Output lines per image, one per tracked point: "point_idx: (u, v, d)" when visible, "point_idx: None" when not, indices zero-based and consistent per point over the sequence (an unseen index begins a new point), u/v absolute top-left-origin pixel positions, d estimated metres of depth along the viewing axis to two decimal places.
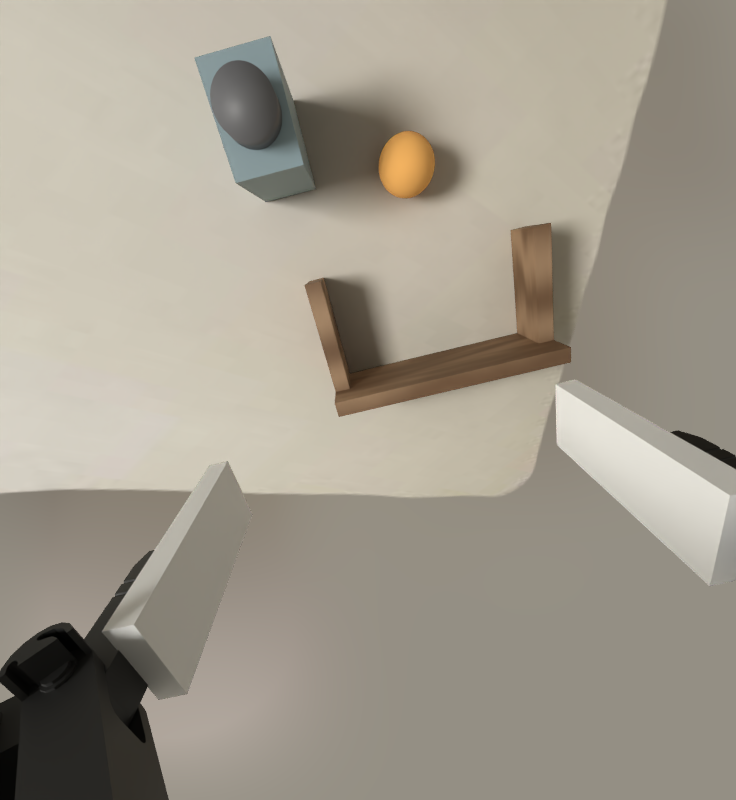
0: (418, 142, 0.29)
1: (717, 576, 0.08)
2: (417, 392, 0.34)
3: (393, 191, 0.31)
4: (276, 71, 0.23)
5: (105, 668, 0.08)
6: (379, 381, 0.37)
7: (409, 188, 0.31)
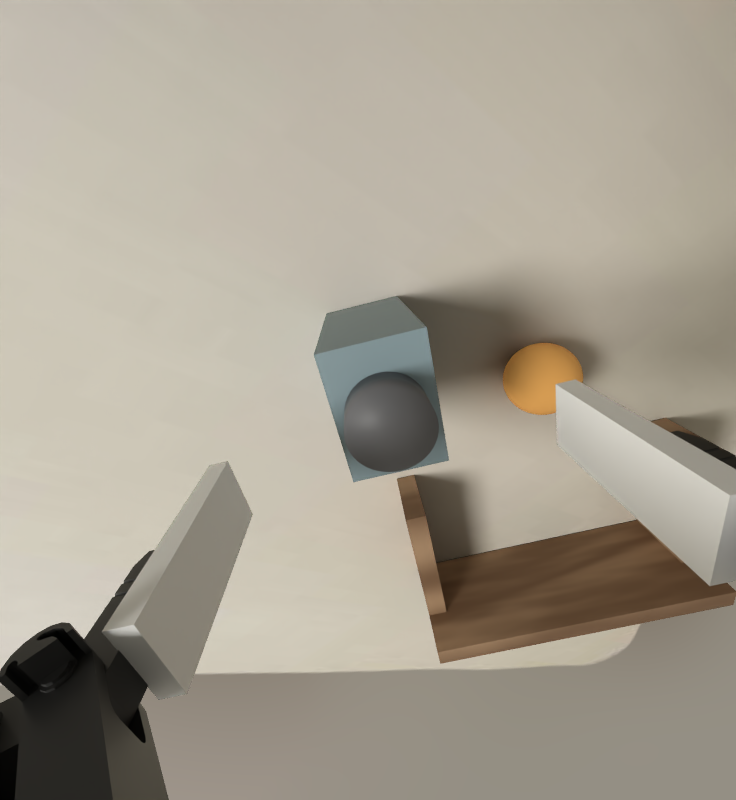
0: (571, 370, 0.22)
1: (717, 576, 0.08)
2: (540, 638, 0.27)
3: (523, 410, 0.25)
4: (428, 364, 0.16)
5: (105, 668, 0.08)
6: (483, 603, 0.30)
7: (548, 413, 0.24)
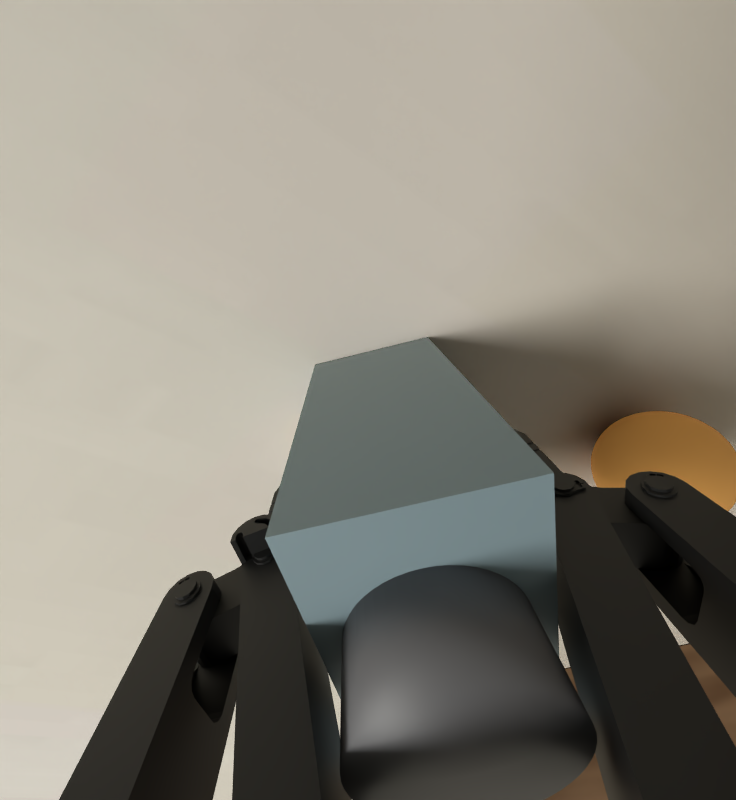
0: (731, 469, 0.13)
1: None
2: None
3: None
4: (545, 549, 0.06)
5: None
6: None
7: None
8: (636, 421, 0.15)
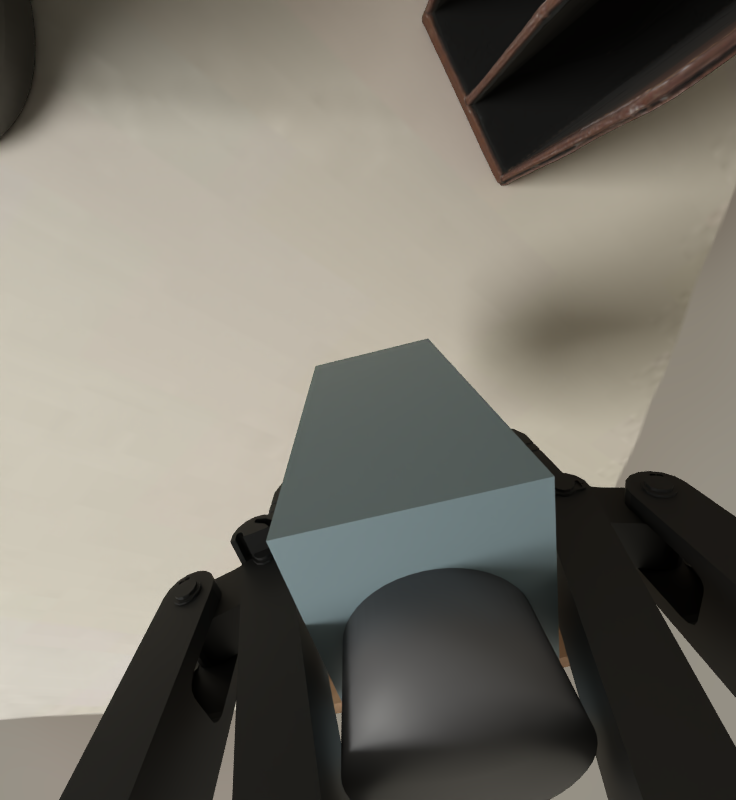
0: None
1: None
2: None
3: None
4: (545, 552, 0.06)
5: None
6: None
7: None
8: None
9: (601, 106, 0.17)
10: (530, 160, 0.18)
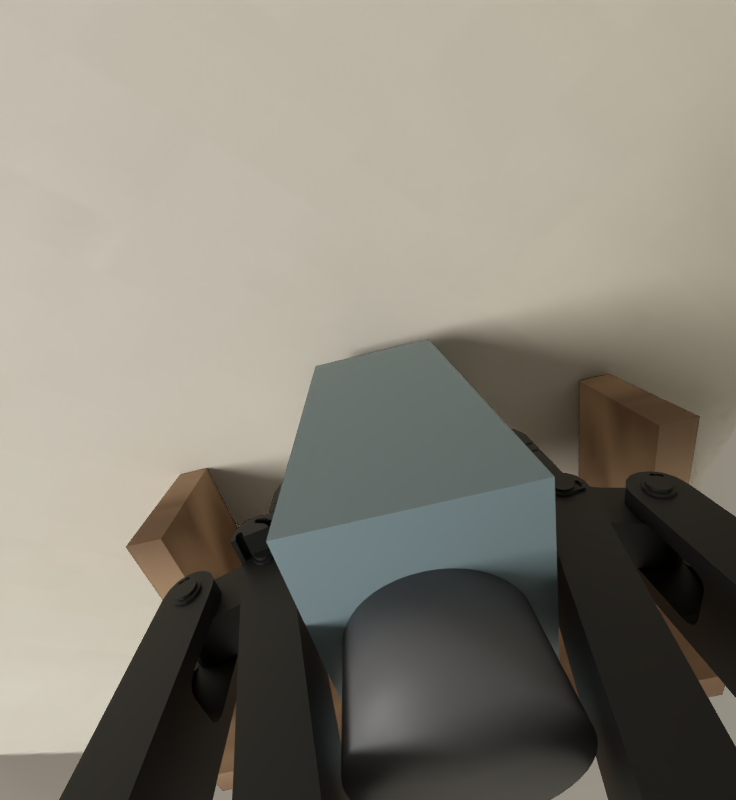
0: None
1: None
2: None
3: None
4: (545, 553, 0.06)
5: None
6: None
7: None
8: None
9: None
10: None
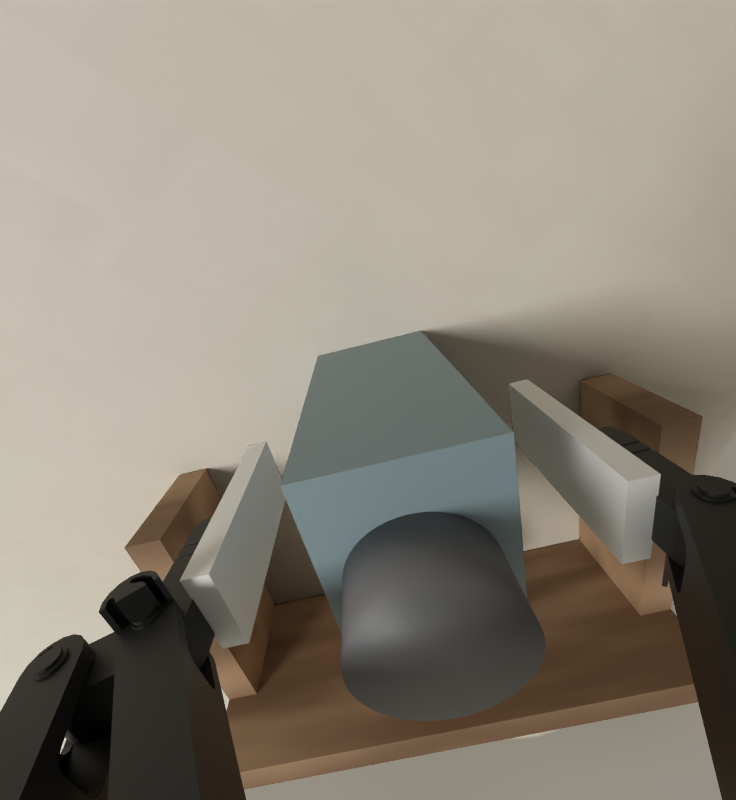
0: None
1: (627, 555, 0.09)
2: (388, 754, 0.16)
3: None
4: (510, 498, 0.08)
5: (183, 616, 0.08)
6: (316, 679, 0.18)
7: None
8: None
9: None
10: None
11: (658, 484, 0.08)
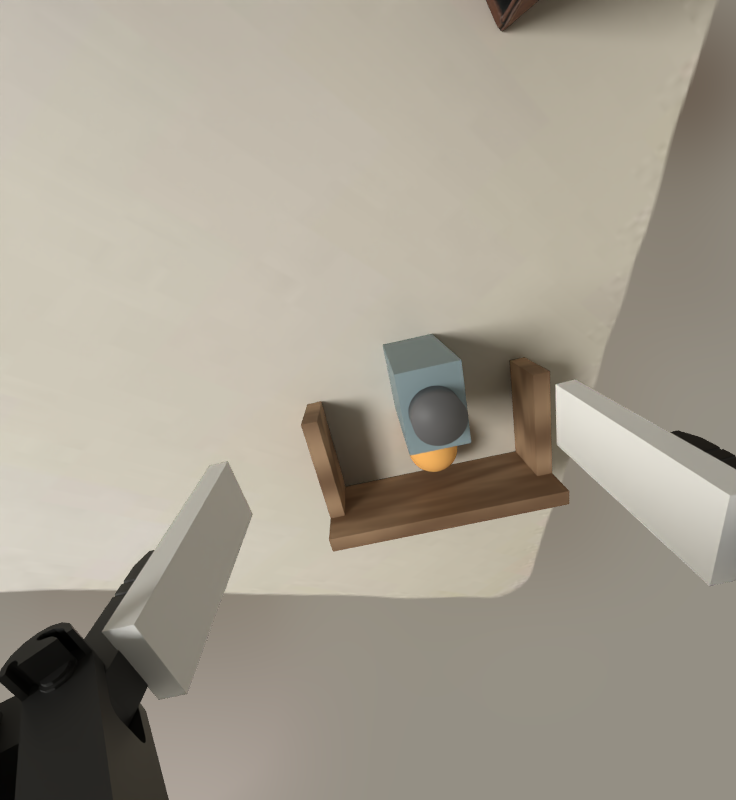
0: None
1: (717, 576, 0.08)
2: (413, 530, 0.33)
3: (422, 465, 0.35)
4: (461, 382, 0.26)
5: (105, 668, 0.08)
6: (375, 508, 0.36)
7: (437, 463, 0.34)
8: None
9: None
10: None
11: None
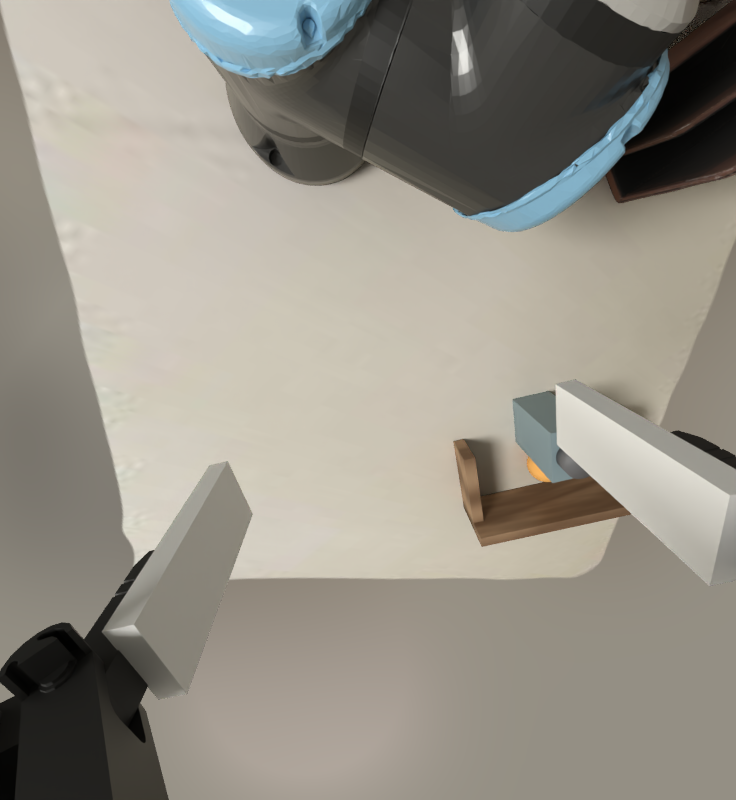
0: None
1: (717, 576, 0.08)
2: (539, 530, 0.48)
3: (543, 474, 0.48)
4: None
5: (105, 668, 0.08)
6: (505, 515, 0.50)
7: None
8: None
9: (687, 164, 0.34)
10: (647, 191, 0.35)
11: None
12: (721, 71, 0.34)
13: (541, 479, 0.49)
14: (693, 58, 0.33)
